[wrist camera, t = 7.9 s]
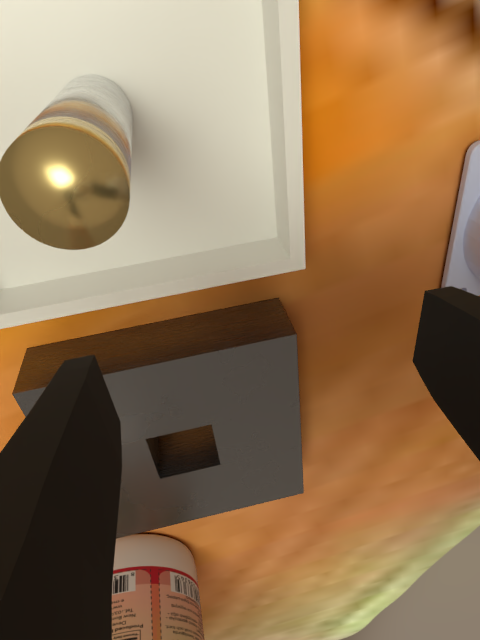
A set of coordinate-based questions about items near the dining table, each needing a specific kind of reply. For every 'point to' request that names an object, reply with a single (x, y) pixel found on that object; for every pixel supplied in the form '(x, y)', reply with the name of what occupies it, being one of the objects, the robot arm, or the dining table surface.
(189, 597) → the fruit juice
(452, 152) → the dining table surface
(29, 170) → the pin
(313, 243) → the dining table surface
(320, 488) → the dining table surface
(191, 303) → the dining table surface
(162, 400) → the block
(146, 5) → the tray
